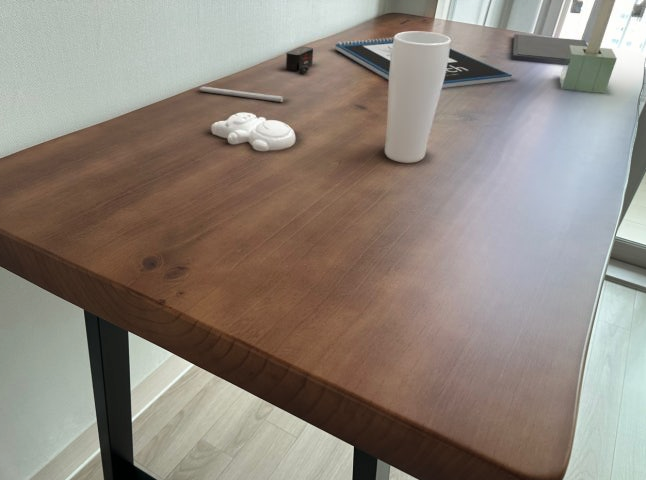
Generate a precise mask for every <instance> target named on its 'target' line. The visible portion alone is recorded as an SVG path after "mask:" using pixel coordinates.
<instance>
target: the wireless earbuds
mask: <svg viewBox="0 0 646 480" xmlns="http://www.w3.org/2000/svg"><path fill="white" fill-rule="evenodd" d="M313 59H314V48H313V47H310V46H302V45H301V46H298V47H295V48H294V49H292V50H289V51H287V52H286V57H285V69H286V71H289V72H295V73H299V74H306V73H307V72H308V71H309V68H310V67H311V66H312V65H313V61H314V60H313Z"/></svg>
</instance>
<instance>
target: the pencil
mask: <svg viewBox="0 0 646 480" xmlns="http://www.w3.org/2000/svg"><path fill="white" fill-rule="evenodd" d="M198 89H199V90H200V91H201V92H204V93H211V94H219V95H226V96H234V97H241V98H248V99H255V100H264V101H271V102H272V101H273V102H277V103H282V102H283V101H284V97H283V96H280V95H271V94H263V93H255V92H248V91H241V90H233V89H232V90H231V89H225V88H217V87H211V86H210V87H209V86H202V87H199V88H198Z"/></svg>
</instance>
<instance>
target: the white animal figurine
mask: <svg viewBox="0 0 646 480" xmlns="http://www.w3.org/2000/svg"><path fill="white" fill-rule="evenodd" d="M210 129H211V134H212V135H215V136H218V137H219V138H222V139H223V138H224V139H227V142H228V144H229V145H238V144H239V145H240V144H243V143H249V144H250V145H251V146H252V149H254V150H255V151H257V152H267V151H281V150H285V149H288V148H290V147H292V146H294V145H295V143H296V134H295V131H294V129H293V128H292V127H290V125H288V124H287V123H285V122H283V121H280V120H275V119H266V118H265V117H263V116H260V117H257V116H256V114H254V113H251V112H246V111H245V112H237V113H235V114H232V115H230V116H229V117H228V118H227V119H226V120H219V121H216V122H215V121H214V123H212V124H211V128H210Z"/></svg>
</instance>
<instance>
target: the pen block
mask: <svg viewBox="0 0 646 480" xmlns="http://www.w3.org/2000/svg"><path fill="white" fill-rule="evenodd" d="M586 49H587V47H585V46H575V45H569V48H568V51H567V55H566V58H565V61H564V65H562V69H561V72H560V75H559V83H560V87H561V90H571V91H580V92H588V93H599V94H605V93H606V91H607V88H608V85H609V82H610V79H611V76H612V73H613V71H614V68H615V65H616V63H617V59H618V58H617V56H616V54H615V52H614V50H613V49H612V48H607V47H600V49H599V52H598V54H593V53H585V52H586Z"/></svg>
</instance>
